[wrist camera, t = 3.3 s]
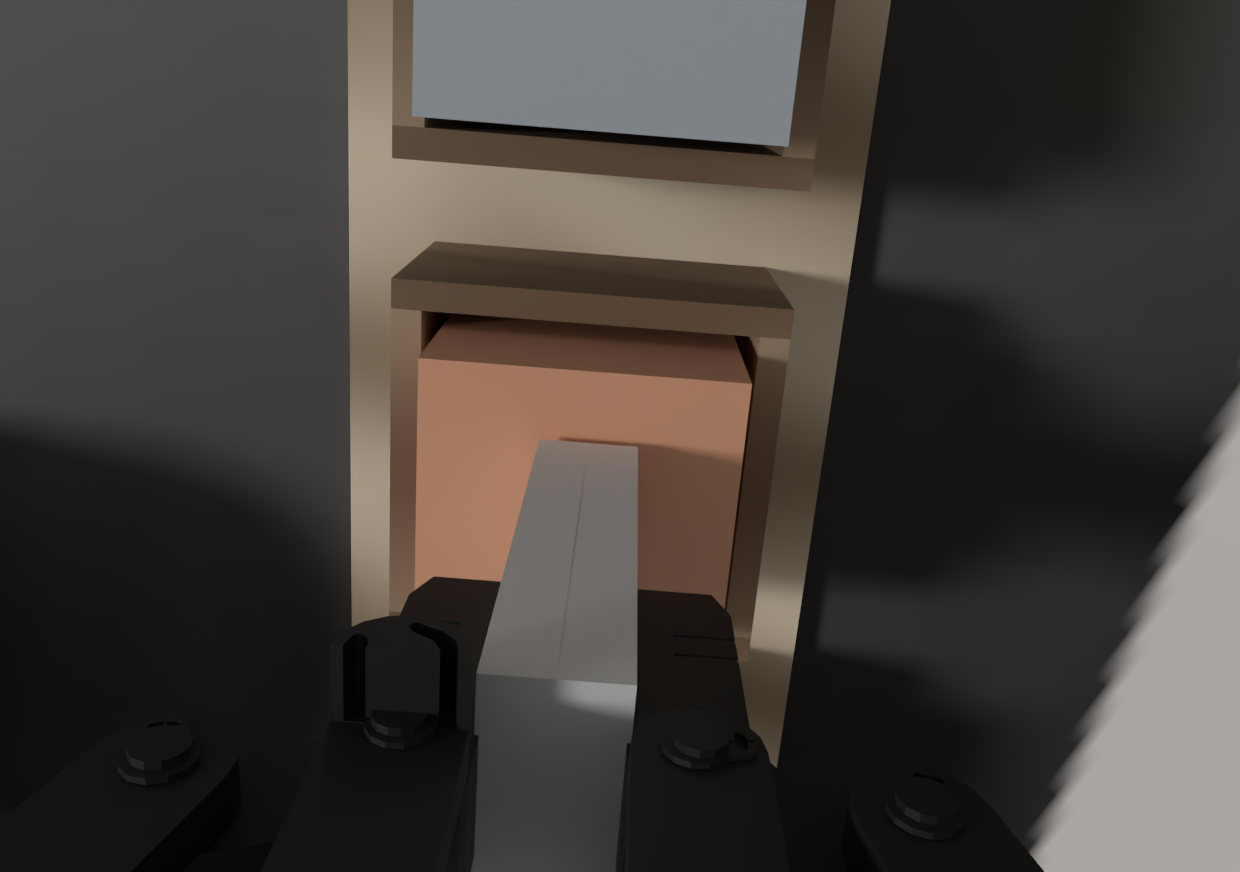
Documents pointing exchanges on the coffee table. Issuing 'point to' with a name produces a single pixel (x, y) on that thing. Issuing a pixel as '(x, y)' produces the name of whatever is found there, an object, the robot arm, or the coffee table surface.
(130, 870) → the robot arm
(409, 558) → the button board
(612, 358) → the button terracotta
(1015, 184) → the coffee table surface
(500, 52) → the button slate
